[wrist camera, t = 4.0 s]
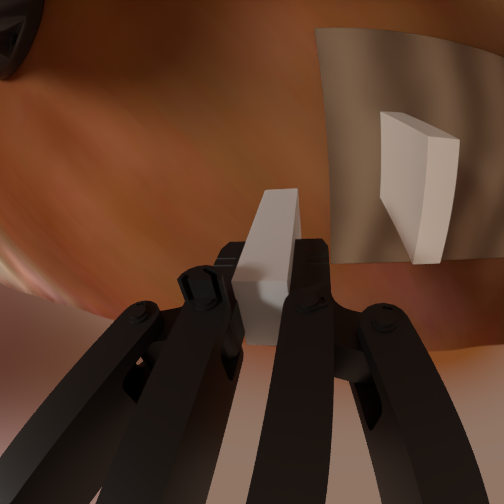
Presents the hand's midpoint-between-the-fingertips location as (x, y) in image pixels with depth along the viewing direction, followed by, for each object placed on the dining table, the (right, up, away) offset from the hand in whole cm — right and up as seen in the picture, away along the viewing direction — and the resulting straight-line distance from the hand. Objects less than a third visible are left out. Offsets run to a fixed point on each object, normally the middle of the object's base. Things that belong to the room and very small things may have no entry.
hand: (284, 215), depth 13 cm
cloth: (+16, +6, +5) cm, 18 cm away
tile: (+9, +6, +6) cm, 12 cm away
